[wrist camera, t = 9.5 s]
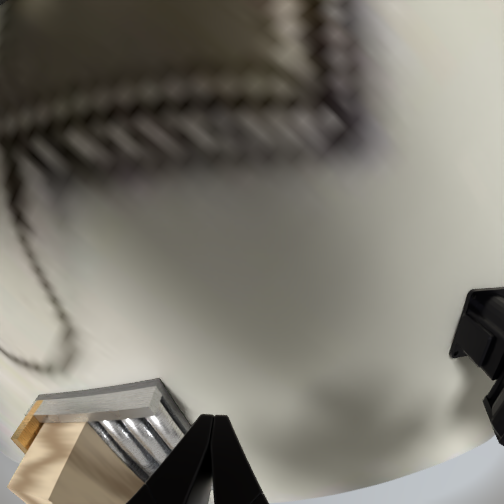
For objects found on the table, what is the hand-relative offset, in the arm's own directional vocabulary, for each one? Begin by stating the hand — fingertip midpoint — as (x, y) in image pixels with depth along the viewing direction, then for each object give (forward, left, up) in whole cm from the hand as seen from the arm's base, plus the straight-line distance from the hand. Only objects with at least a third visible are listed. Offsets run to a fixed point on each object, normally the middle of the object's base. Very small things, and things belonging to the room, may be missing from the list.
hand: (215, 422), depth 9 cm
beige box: (+14, +18, -9) cm, 24 cm away
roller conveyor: (+11, +17, -12) cm, 24 cm away
